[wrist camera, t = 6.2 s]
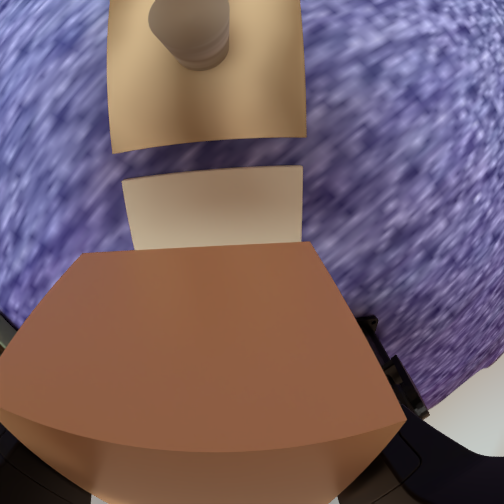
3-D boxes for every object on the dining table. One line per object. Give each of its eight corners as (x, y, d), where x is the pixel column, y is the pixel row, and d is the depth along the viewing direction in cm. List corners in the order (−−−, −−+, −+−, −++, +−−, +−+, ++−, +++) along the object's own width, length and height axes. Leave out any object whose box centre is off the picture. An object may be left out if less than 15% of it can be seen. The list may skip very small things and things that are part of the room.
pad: (300, 165, 18) (302, 166, 17) (296, 290, 22) (298, 295, 22) (124, 179, 17) (121, 181, 17) (150, 300, 22) (148, 304, 21)
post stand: (292, -18, 12) (323, -73, 5) (300, 136, 17) (344, 147, 10) (118, -1, 11) (71, -43, 4) (120, 151, 16) (63, 173, 10)
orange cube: (309, 241, 7) (407, 419, 2) (293, 389, 9) (318, 511, 5) (82, 253, 7) (-23, 396, 2) (137, 392, 9) (114, 506, 5)
